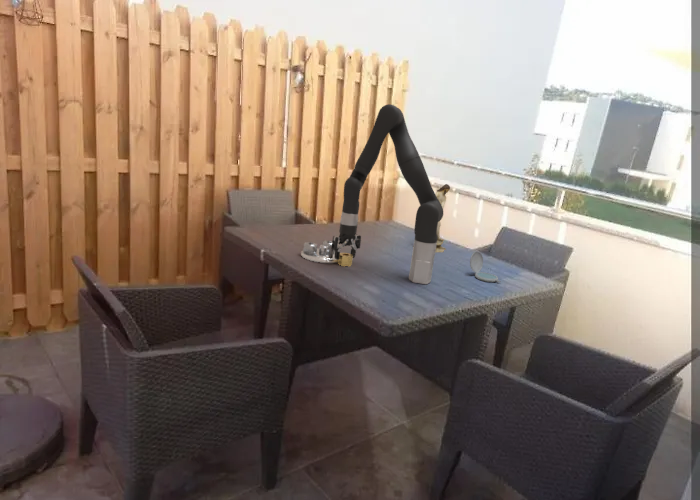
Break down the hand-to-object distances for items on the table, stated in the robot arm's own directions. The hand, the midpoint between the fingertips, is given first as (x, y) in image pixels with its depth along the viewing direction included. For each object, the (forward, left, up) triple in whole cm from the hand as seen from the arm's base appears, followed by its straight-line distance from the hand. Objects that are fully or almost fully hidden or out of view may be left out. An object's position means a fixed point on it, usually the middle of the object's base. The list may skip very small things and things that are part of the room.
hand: (344, 258), depth 208 cm
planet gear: (0, 0, -3) cm, 3 cm away
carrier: (+7, +11, -3) cm, 13 cm away
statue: (+53, -40, -3) cm, 66 cm away
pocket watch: (+8, -63, -3) cm, 64 cm away
